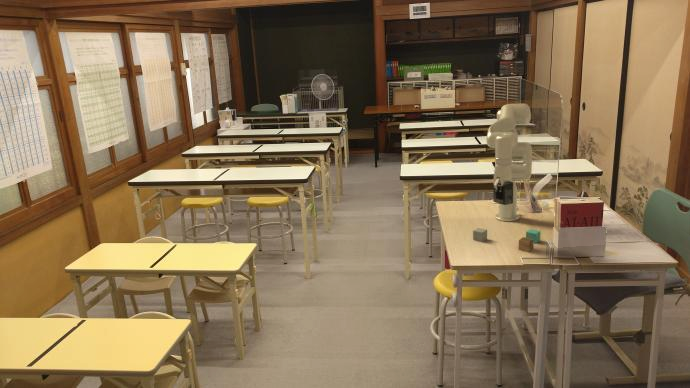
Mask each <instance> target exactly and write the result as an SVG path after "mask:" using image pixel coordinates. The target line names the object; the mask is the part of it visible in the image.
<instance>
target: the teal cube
mask: <svg viewBox="0 0 690 388" xmlns="http://www.w3.org/2000/svg"><path fill="white" fill-rule="evenodd" d="M525 237H526V238H531V239H534V244H537V243H539V242H540V241H541V230H538V229H533V228H530V229H528V230H527V231H526V232H525Z"/></svg>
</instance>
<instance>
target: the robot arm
mask: <svg viewBox="0 0 690 388" xmlns="http://www.w3.org/2000/svg"><path fill="white" fill-rule="evenodd" d="M530 108H531V107H530V106H529V105H528V104H527V103H508V104H504V105H503V106H502V107H501V108H500V110H498V111H497V112H496V121H495V122H494V123H492V124H491V125H490V126H489V127H488V129H487V134H486V145H487V146H488V147H489V148H494V150H495V157H494V158H495V160H494V162H495V165H494V170H493V181H494V187H495V191H496V199H499V200H502V199H503V192H502V187H503V186H504V184H505V183H507V182H509V181H510V182H513V203H512V204H508V205H502V204H499V203H498V213H497V214H495V218H496V219H497V220H498V221H501V222H515V221H518V220H519V219H520V215H519V214H517V213H518V211H519V210H520V208H519V207H518V206H517V205H518V203H517V202H518V188H517V187H518V186H517V185H516V183H515V182H514V181H528V180H530V179H531V176H532V170H533V169H532V168H533V165H532V164H533V160H532V158H533V148H532V145H531V143H529V142H526V141H525V142H524V141H523V142H522V141H521V142H520V141H519V138H518V137H519V133H518V131H517V130H516V126H518V125H519V126H521V125H522V126H523V125H524V126H525V125H529V123H530V122H531V119H532V112H531V109H530ZM518 141H519V142H518ZM514 160H515V161H514ZM520 161H521V162H520ZM499 184H501V185H499ZM498 186H499V187H500V188H499V187H498Z"/></svg>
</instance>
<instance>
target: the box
mask: <svg viewBox="0 0 690 388" xmlns="http://www.w3.org/2000/svg"><path fill="white" fill-rule="evenodd" d="M492 182H493V183H492V184H493V193H492V194H493V199H492V201H493V202H494V203H495V204H498V205H499V204H502V205H508V204H512V203H513V182H514V181H513V182H510V181H509V182H507V183H505V184H504V186H503V187H502V192H503V199H502V200H499V199H496V191H495V187H494V180H493V181H492ZM499 185H501V184H499ZM498 187H499V186H498ZM499 188H500V187H499Z"/></svg>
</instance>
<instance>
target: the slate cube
mask: <svg viewBox="0 0 690 388" xmlns="http://www.w3.org/2000/svg"><path fill="white" fill-rule="evenodd" d="M472 240H473V241H476V242H481V243H482V242H485V241H486V240H488V229H485V228H480V227H477V228H475V229H473V230H472Z"/></svg>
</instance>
